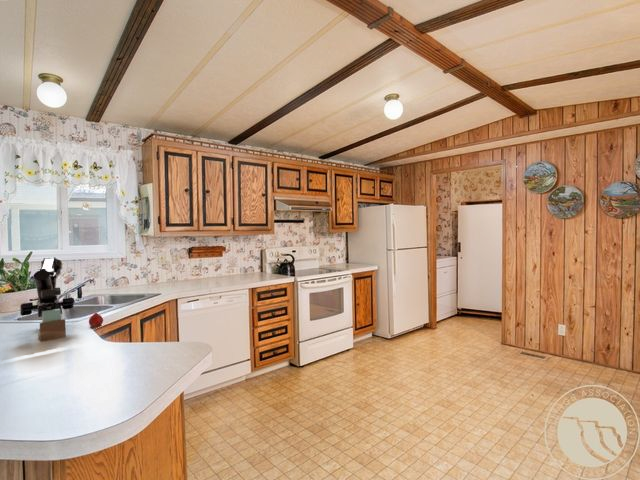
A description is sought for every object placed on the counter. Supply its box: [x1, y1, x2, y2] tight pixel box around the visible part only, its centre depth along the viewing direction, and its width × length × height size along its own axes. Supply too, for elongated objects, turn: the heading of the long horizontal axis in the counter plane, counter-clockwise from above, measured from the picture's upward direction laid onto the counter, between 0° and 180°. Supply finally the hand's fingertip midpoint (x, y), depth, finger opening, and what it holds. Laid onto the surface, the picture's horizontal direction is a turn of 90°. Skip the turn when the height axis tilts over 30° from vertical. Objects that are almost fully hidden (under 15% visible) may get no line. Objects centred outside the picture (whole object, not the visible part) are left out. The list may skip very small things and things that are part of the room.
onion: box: [88, 311, 104, 328], centre depth 167 cm, size 6×6×8 cm
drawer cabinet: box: [37, 318, 67, 343], centre depth 152 cm, size 14×9×9 cm, turn 46°
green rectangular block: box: [41, 309, 62, 323], centre depth 149 cm, size 3×6×12 cm, turn 136°
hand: (50, 321), depth 150 cm, fingers closed, pressing on green rectangular block
